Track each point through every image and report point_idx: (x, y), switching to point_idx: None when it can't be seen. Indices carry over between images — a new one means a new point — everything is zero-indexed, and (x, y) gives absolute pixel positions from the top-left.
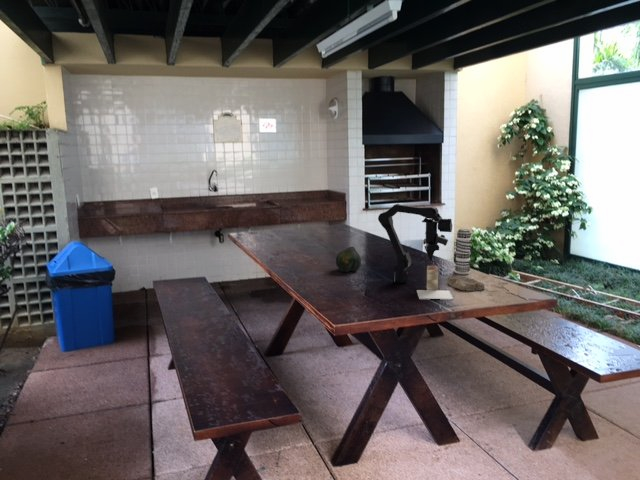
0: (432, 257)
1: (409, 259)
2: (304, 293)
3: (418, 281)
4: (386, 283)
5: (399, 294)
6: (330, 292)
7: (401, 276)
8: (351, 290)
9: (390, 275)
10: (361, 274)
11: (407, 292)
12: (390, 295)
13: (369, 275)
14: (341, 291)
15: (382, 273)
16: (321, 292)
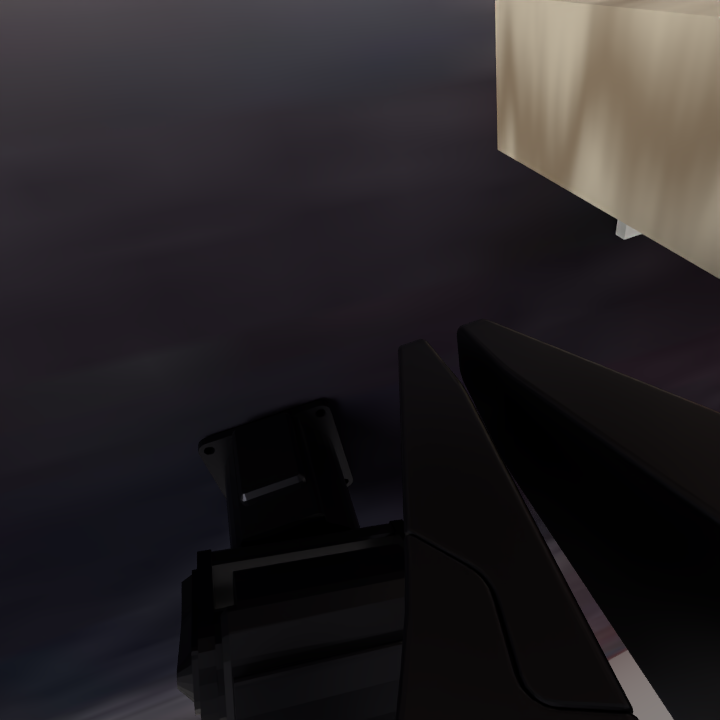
0: (593, 362)
1: (364, 670)
2: (608, 651)
3: (185, 314)
4: (376, 514)
5: (690, 341)
6: (601, 610)
7: (348, 491)
8: (570, 574)
9: (72, 592)
10: (170, 699)
11: (644, 302)
12: (702, 385)
13: (172, 667)
14: (587, 592)
15: (38, 651)
16: (598, 628)
